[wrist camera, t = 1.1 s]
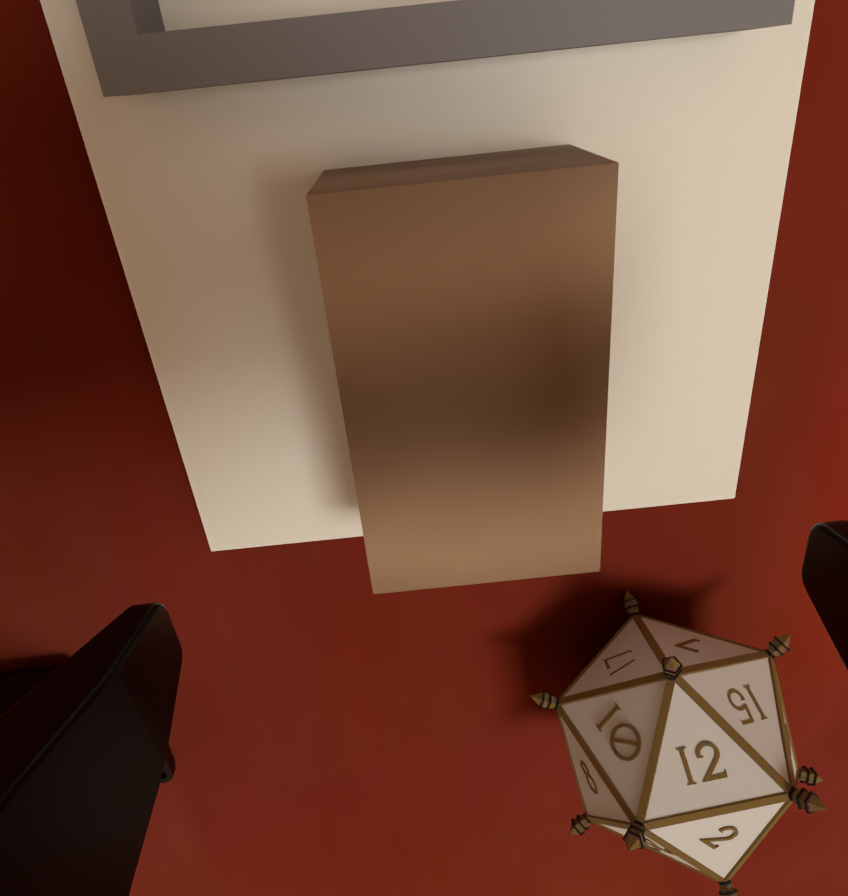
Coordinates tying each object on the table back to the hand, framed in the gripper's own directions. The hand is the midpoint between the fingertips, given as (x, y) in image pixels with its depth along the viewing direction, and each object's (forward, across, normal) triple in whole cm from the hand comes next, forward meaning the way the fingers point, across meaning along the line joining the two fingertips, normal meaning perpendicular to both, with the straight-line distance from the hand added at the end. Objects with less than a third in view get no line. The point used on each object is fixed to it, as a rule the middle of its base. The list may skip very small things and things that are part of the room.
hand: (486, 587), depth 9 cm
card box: (+10, -1, 0) cm, 11 cm away
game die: (+11, -6, +14) cm, 19 cm away
